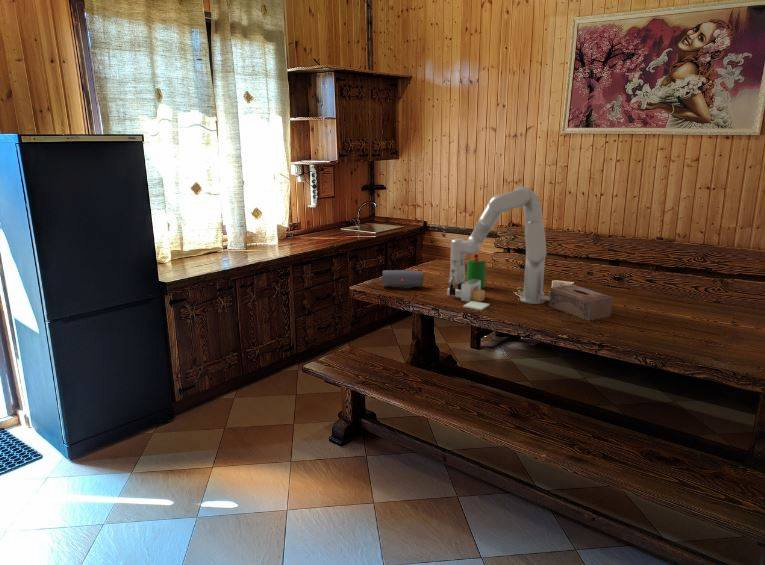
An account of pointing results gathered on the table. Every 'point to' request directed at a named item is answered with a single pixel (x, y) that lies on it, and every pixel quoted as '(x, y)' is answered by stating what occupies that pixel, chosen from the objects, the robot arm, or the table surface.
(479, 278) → the motor
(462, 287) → the housing
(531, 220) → the robot arm
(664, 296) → the table surface
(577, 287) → the tissue box cover
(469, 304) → the mat
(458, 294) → the push rod
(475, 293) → the plug block
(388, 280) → the bluetooth speaker
